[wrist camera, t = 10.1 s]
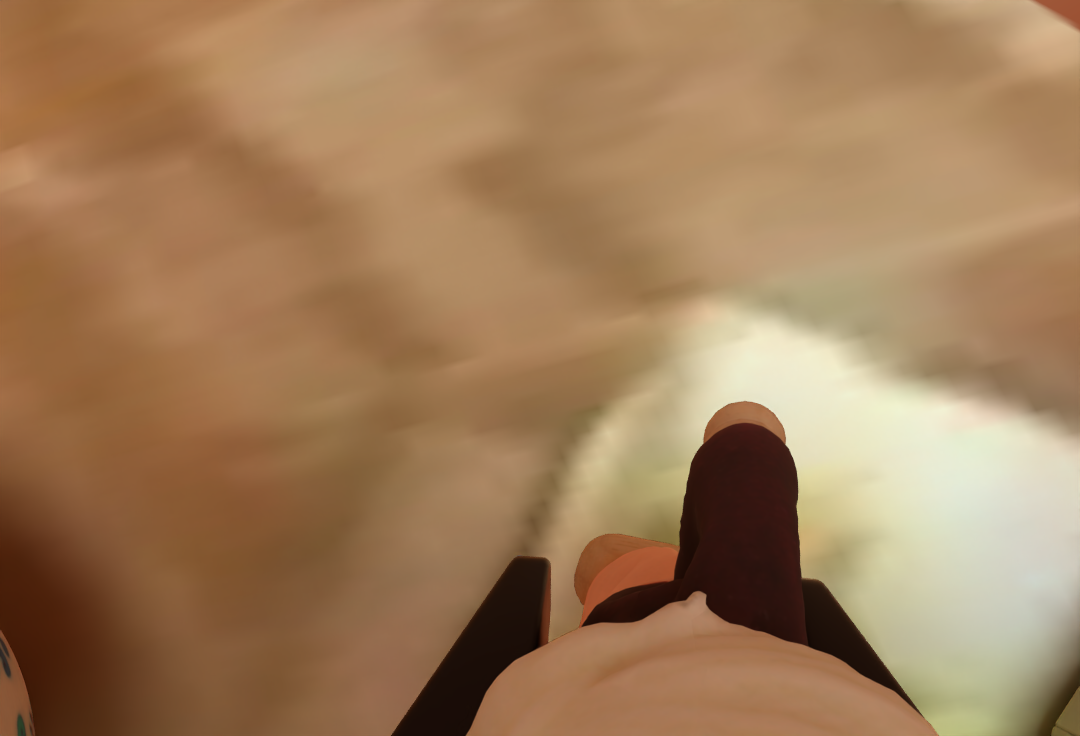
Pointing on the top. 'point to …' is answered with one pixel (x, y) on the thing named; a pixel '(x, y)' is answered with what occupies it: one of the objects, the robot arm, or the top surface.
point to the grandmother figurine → (699, 622)
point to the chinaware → (13, 696)
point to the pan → (1069, 718)
